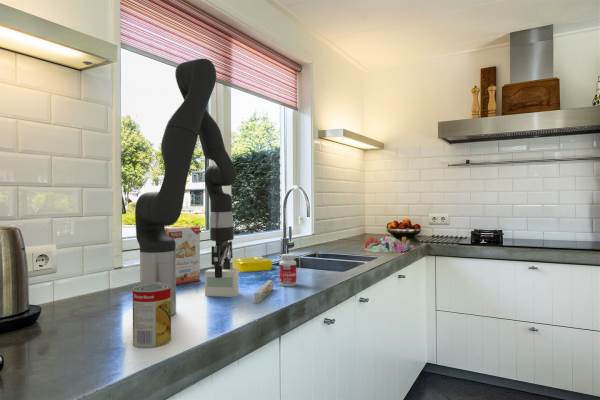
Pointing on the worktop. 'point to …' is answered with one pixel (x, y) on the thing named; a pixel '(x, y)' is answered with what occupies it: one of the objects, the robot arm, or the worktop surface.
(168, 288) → the canned food
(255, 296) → the rail
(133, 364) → the worktop surface
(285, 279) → the pill bottle
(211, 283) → the product carton
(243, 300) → the worktop surface
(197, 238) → the cracker box
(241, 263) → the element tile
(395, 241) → the candy landscape model
